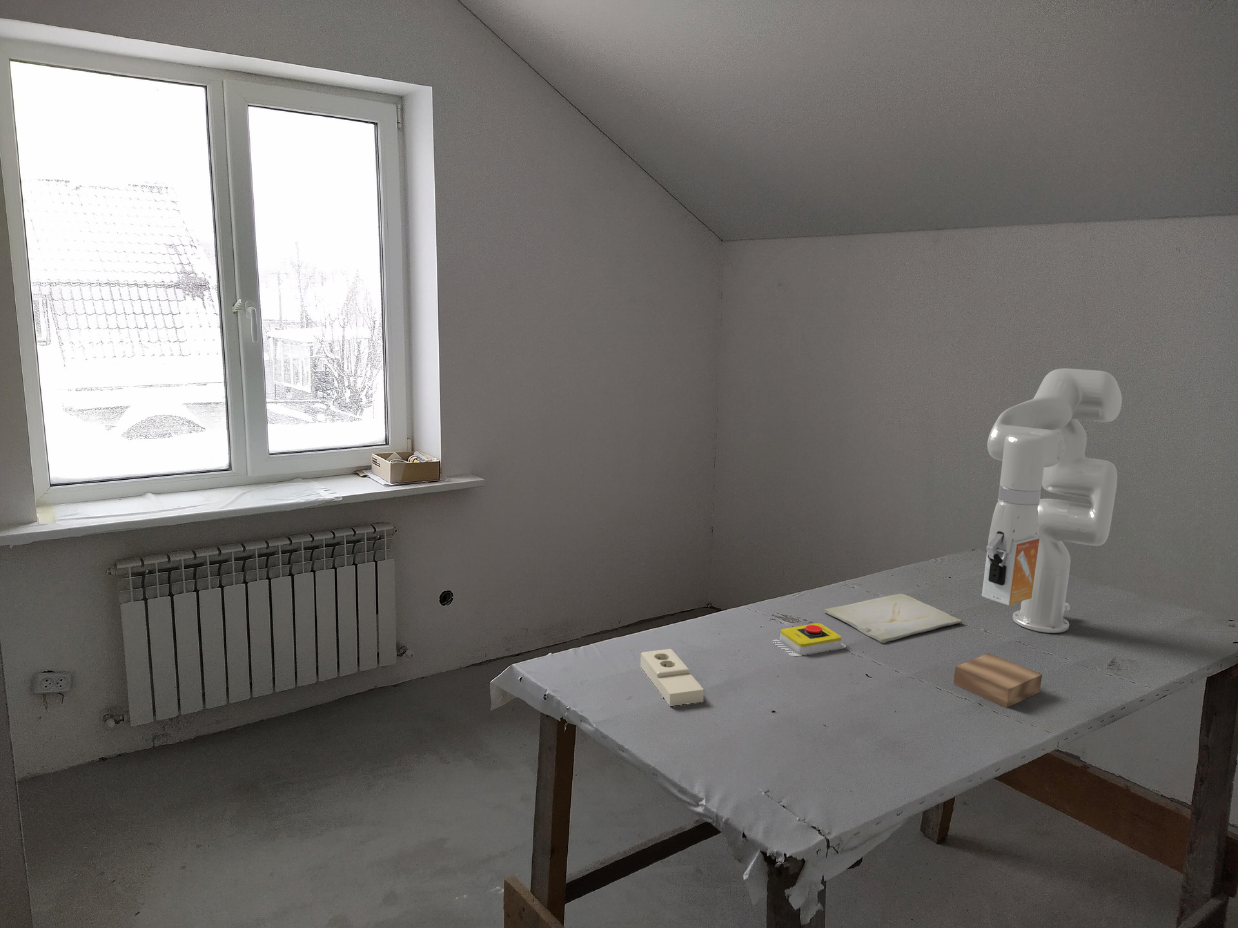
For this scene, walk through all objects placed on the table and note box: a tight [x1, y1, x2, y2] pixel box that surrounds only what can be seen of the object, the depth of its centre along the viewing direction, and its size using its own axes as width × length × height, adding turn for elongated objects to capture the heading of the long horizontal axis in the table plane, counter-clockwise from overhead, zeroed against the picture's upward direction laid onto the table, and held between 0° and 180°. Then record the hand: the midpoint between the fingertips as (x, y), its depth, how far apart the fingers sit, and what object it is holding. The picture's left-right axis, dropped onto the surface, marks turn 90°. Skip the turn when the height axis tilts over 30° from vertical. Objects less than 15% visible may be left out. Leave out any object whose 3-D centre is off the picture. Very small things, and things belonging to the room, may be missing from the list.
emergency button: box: [772, 622, 847, 657], centre depth 199 cm, size 9×4×15 cm
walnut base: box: [953, 652, 1043, 709], centre depth 179 cm, size 12×12×4 cm
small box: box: [981, 537, 1040, 606], centre depth 174 cm, size 8×6×13 cm
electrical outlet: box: [640, 648, 705, 706], centre depth 179 cm, size 7×4×18 cm
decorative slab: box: [823, 593, 963, 644], centre depth 215 cm, size 27×21×2 cm
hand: (1009, 578), depth 174 cm, fingers closed on small box, 8 cm apart
